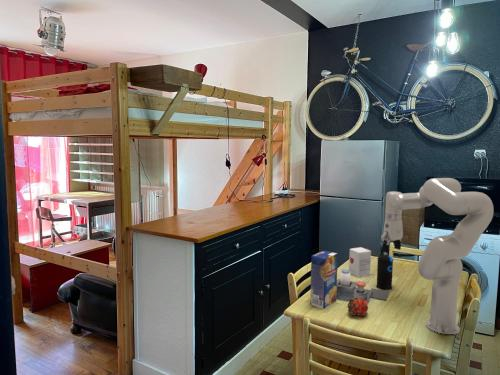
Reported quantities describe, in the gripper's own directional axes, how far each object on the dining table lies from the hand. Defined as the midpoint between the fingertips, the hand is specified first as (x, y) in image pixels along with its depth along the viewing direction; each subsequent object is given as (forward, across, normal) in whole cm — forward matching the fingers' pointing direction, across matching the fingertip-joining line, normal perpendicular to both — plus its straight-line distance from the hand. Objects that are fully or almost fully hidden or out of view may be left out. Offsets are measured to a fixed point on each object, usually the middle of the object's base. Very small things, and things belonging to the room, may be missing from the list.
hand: (391, 250), depth 185 cm
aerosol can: (+24, +9, +9) cm, 28 cm away
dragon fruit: (+24, -28, -3) cm, 37 cm away
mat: (+24, -2, +5) cm, 25 cm away
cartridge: (+22, -14, +16) cm, 31 cm away
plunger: (+19, -16, +5) cm, 26 cm away
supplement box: (+24, +15, +30) cm, 42 cm away
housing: (+24, -14, +12) cm, 30 cm away
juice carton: (+24, -32, +14) cm, 43 cm away
